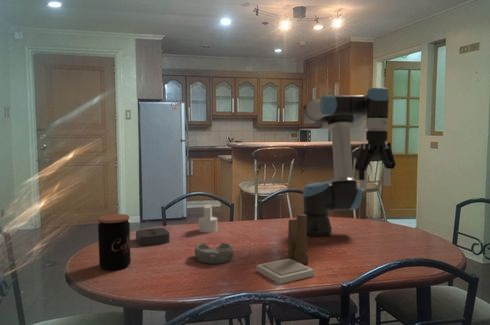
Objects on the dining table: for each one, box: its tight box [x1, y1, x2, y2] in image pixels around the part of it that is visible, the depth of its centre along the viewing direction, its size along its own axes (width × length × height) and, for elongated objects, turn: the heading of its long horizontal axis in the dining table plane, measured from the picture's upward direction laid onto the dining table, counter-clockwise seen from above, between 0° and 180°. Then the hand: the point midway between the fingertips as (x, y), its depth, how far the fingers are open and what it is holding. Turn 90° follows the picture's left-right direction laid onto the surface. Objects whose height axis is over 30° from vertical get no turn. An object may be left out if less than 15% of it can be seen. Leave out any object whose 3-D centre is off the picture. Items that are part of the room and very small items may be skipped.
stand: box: [256, 257, 315, 285], centre depth 138 cm, size 14×14×2 cm
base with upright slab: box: [198, 204, 219, 233], centre depth 195 cm, size 9×9×12 cm
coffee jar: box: [97, 213, 132, 272], centre depth 145 cm, size 11×11×18 cm
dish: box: [194, 242, 235, 265], centre depth 153 cm, size 14×14×5 cm
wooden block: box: [287, 213, 309, 265], centre depth 151 cm, size 4×11×18 cm, turn 15°
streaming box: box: [135, 227, 171, 247], centre depth 177 cm, size 13×13×4 cm
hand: (375, 187), depth 152 cm, fingers open, 13 cm apart
